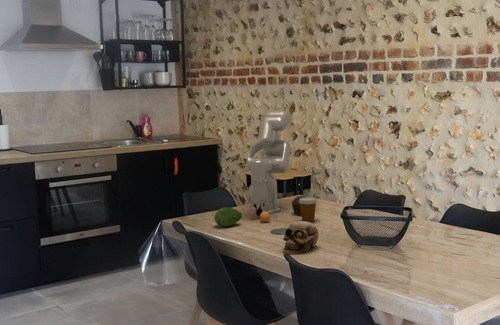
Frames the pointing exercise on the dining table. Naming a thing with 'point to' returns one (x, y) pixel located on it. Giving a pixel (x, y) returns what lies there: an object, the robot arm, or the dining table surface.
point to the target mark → (279, 231)
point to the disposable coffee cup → (307, 208)
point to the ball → (265, 216)
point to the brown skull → (300, 237)
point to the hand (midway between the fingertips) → (259, 215)
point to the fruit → (227, 216)
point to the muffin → (297, 205)
